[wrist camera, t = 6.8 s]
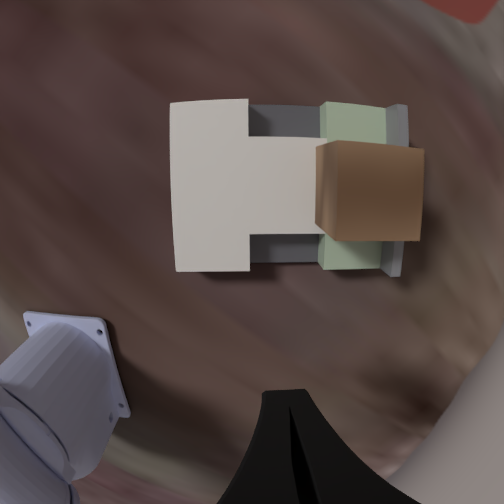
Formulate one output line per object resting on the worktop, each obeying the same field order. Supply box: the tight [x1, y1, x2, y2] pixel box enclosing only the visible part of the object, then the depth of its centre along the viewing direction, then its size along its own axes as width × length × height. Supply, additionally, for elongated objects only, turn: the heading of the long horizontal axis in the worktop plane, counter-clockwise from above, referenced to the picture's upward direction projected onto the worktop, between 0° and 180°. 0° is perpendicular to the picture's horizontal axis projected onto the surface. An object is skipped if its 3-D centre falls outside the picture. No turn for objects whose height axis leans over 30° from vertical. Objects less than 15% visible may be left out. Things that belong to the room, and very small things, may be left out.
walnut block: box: [315, 140, 424, 241], centre depth 13 cm, size 4×4×4 cm
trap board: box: [170, 99, 409, 277], centre depth 16 cm, size 9×12×4 cm
